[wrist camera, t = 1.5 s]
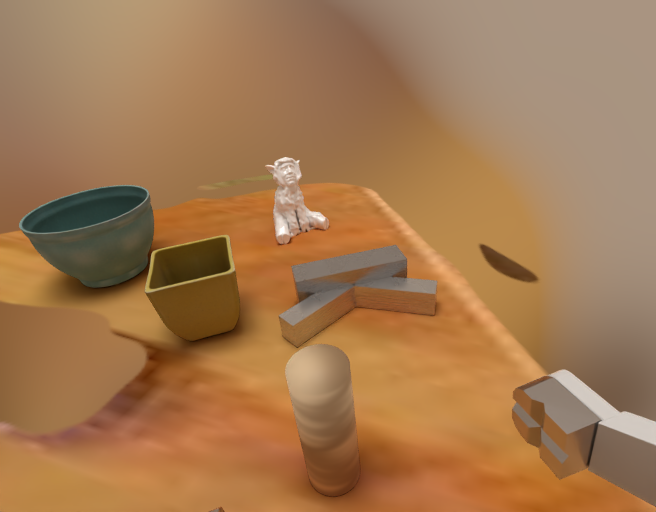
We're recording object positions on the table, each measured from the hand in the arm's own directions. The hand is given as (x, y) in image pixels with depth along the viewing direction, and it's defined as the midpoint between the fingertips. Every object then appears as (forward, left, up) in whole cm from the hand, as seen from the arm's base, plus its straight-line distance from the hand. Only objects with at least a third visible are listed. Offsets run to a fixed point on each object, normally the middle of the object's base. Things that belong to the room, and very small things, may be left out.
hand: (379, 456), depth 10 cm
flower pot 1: (-25, +50, -19) cm, 60 cm away
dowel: (0, +11, -19) cm, 22 cm away
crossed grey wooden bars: (+7, +30, -19) cm, 36 cm away
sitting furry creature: (+3, +53, -20) cm, 57 cm away
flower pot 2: (-10, +32, -19) cm, 39 cm away
